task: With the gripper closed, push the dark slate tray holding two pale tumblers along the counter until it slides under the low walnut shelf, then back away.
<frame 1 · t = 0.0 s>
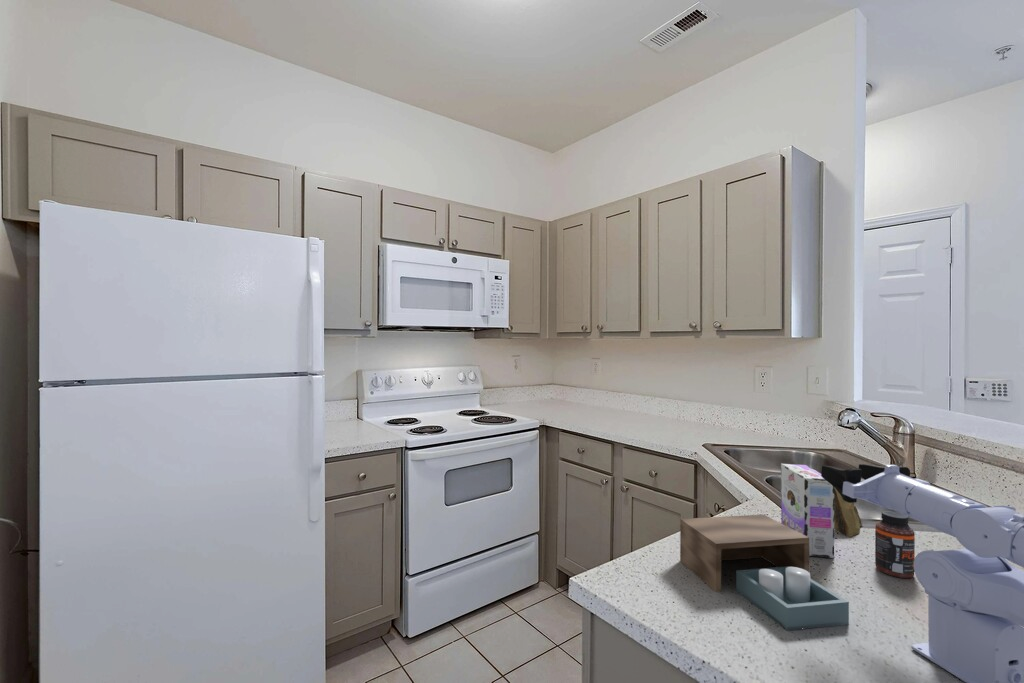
hand: (841, 470, 82), 22 cm above the worktop, tool horizontal, fingers open, 7 cm apart
candy box: (805, 545, 102), on the worktop
shelf: (741, 571, 89), on the worktop
rock: (850, 530, 111), on the worktop
supplement bottle: (894, 573, 89), on the worktop
tray: (788, 606, 77), on the worktop
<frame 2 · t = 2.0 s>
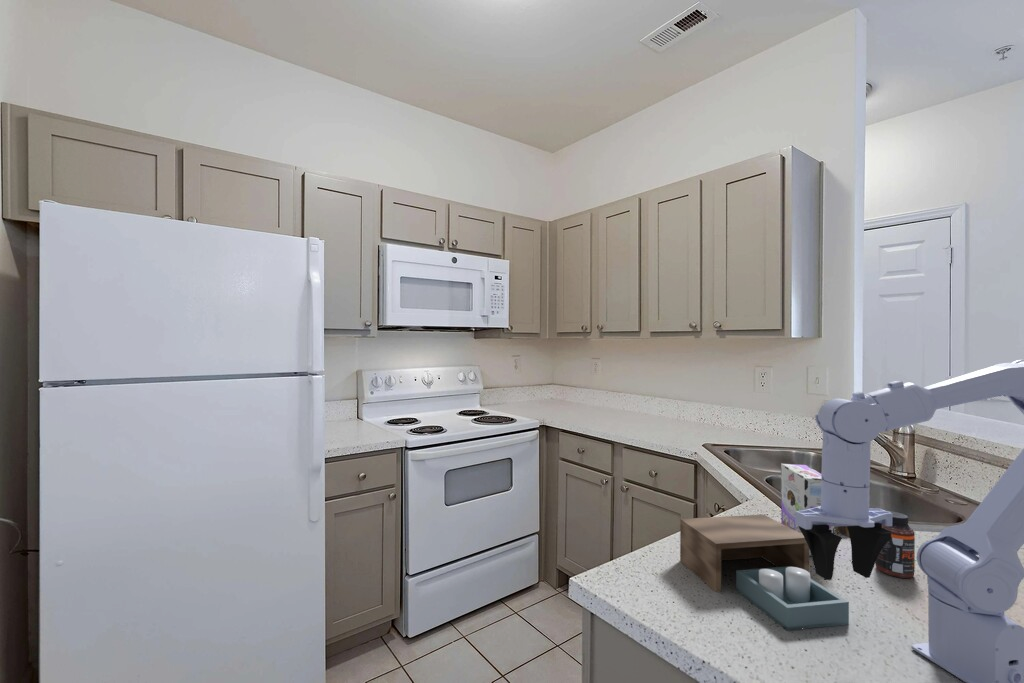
hand: (842, 575, 66), 10 cm above the worktop, tool pointing down, fingers open, 6 cm apart
nothing on the worktop moved.
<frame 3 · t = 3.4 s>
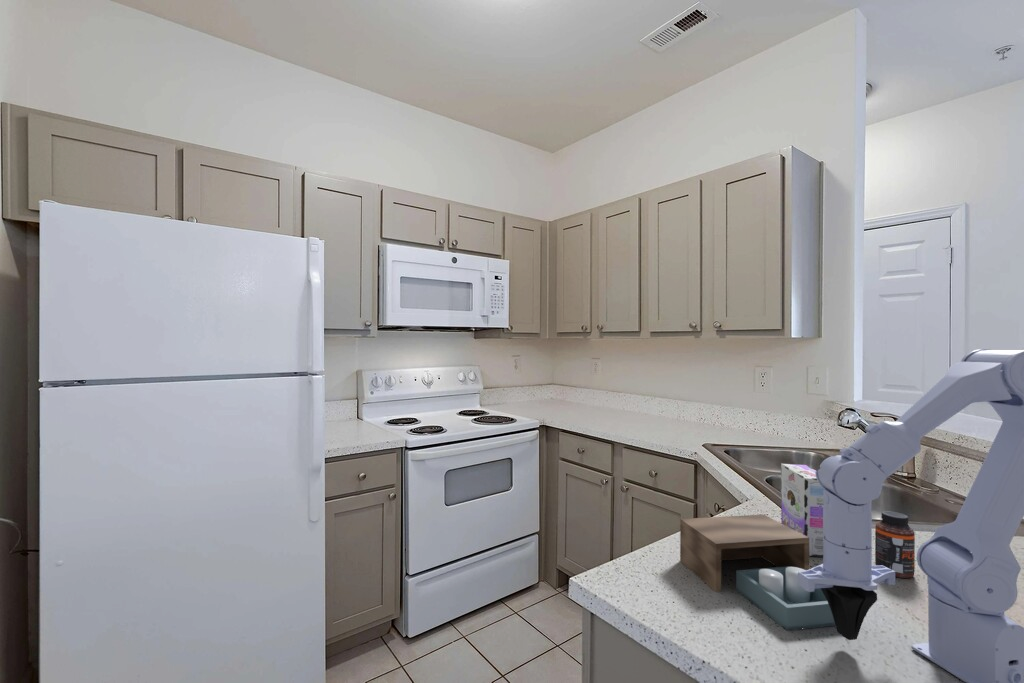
hand: (846, 635, 66), 2 cm above the worktop, tool pointing down, fingers closed
nothing on the worktop moved.
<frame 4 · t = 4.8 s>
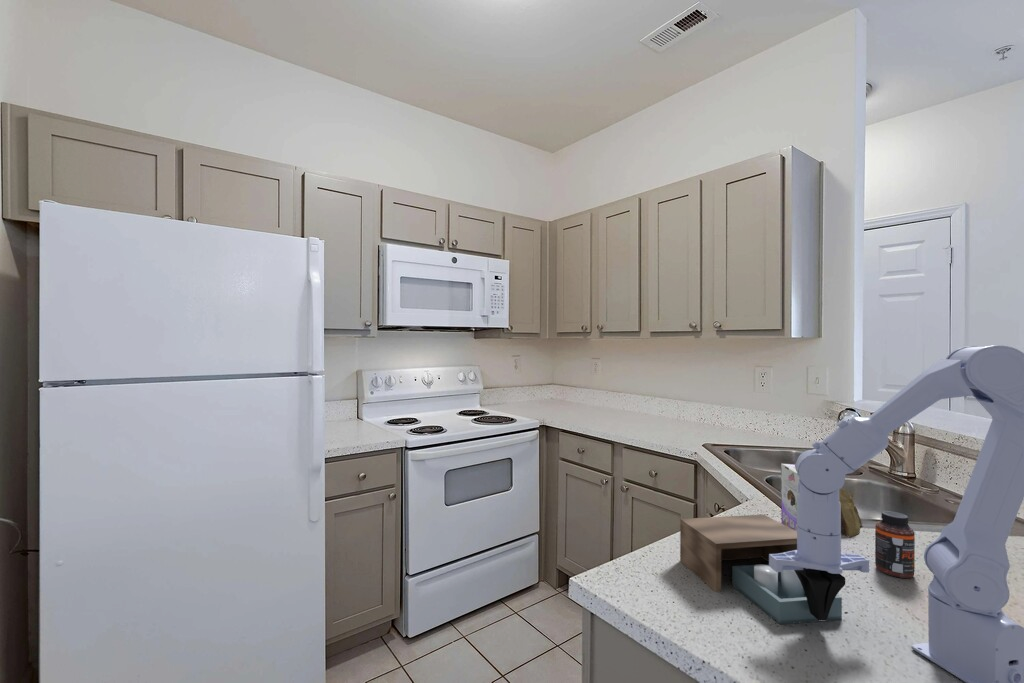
hand: (818, 616, 71), 2 cm above the worktop, tool pointing down, fingers closed
tray: (783, 601, 78), on the worktop, touching gripper
everything else where it was.
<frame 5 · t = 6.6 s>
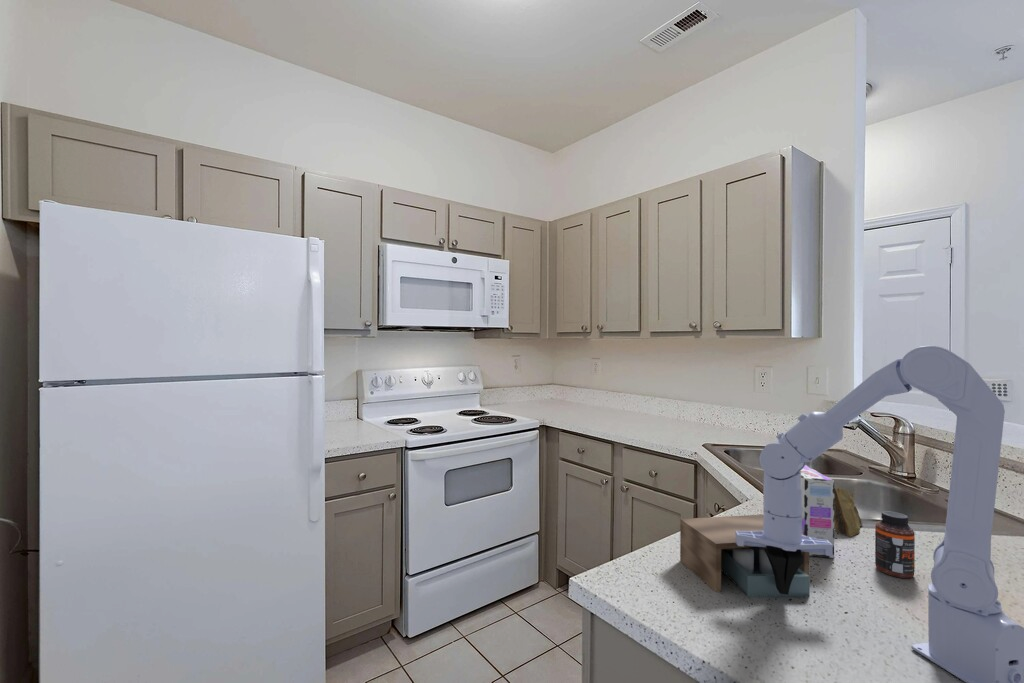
hand: (782, 591, 78), 2 cm above the worktop, tool pointing down, fingers closed
tray: (759, 579, 86), on the worktop, touching gripper
everything else where it was.
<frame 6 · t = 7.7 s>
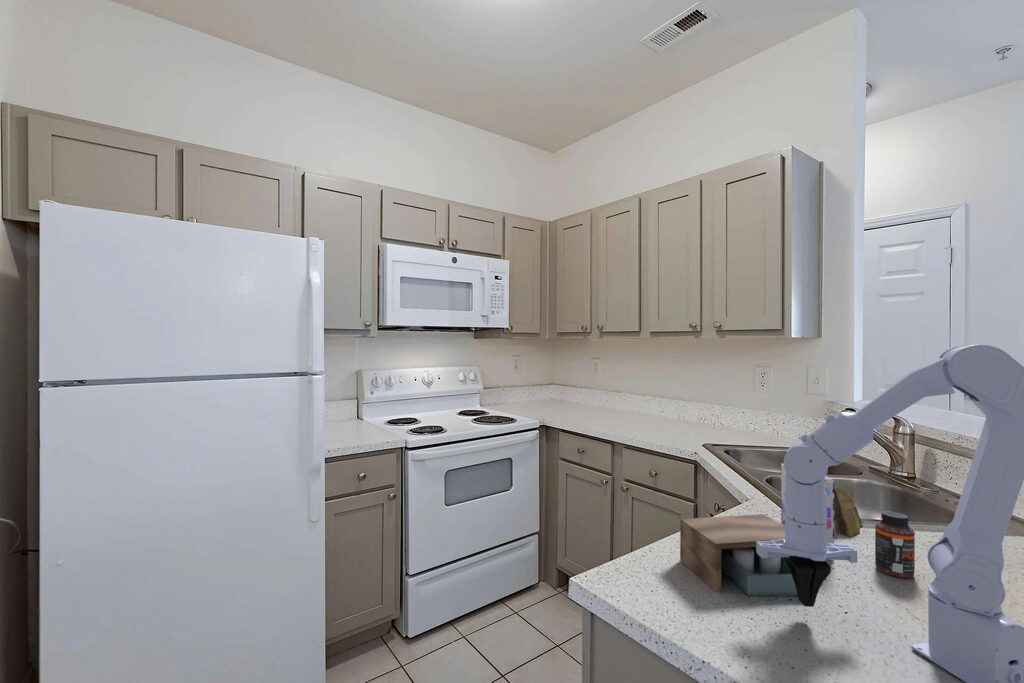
hand: (805, 603, 73), 2 cm above the worktop, tool pointing down, fingers closed
tray: (759, 579, 86), on the worktop
everything else where it was.
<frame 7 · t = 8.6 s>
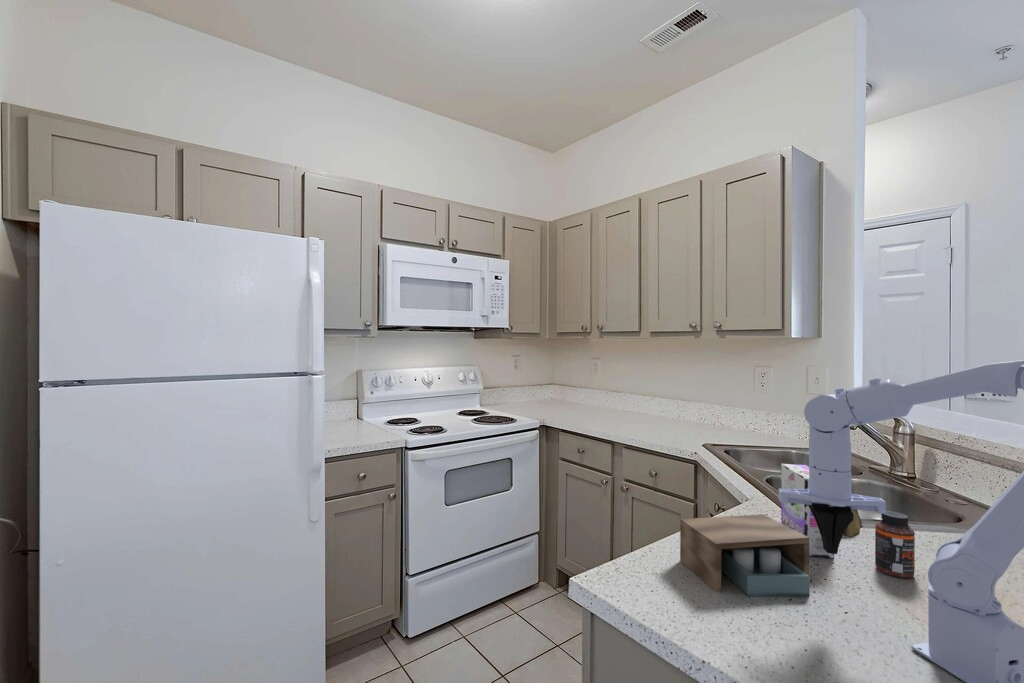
hand: (830, 551, 75), 10 cm above the worktop, tool pointing down, fingers closed
nothing on the worktop moved.
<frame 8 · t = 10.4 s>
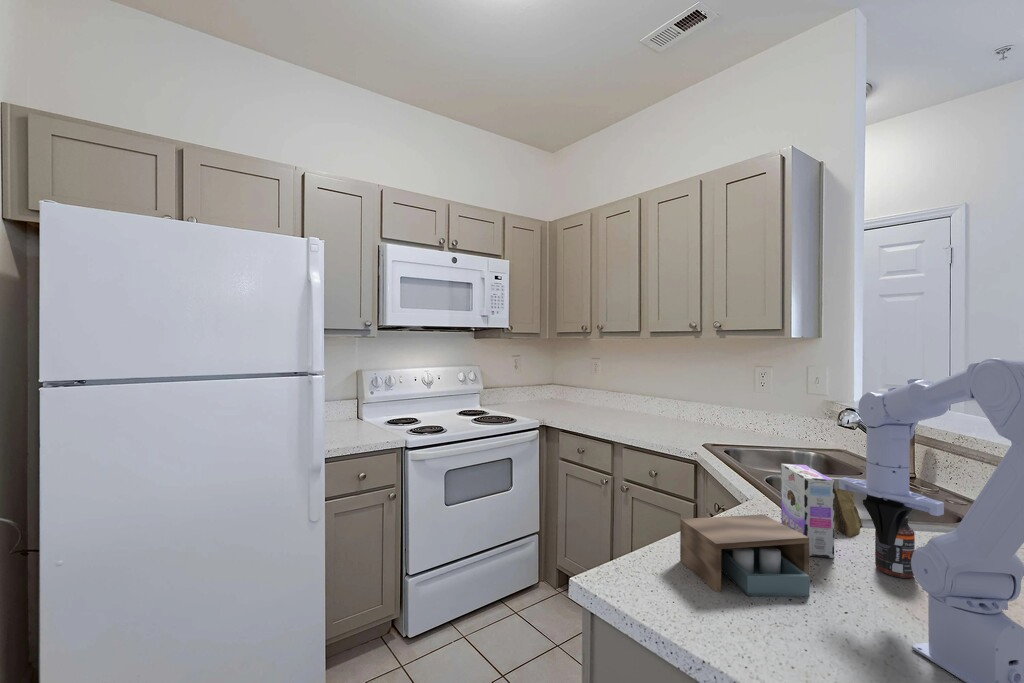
hand: (886, 543, 78), 10 cm above the worktop, tool pointing down, fingers closed
nothing on the worktop moved.
at the end: tray inside the target area (2.8 cm from its centre), on the worktop; tray tilted 0°; tray moved 9.1 cm from its start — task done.
